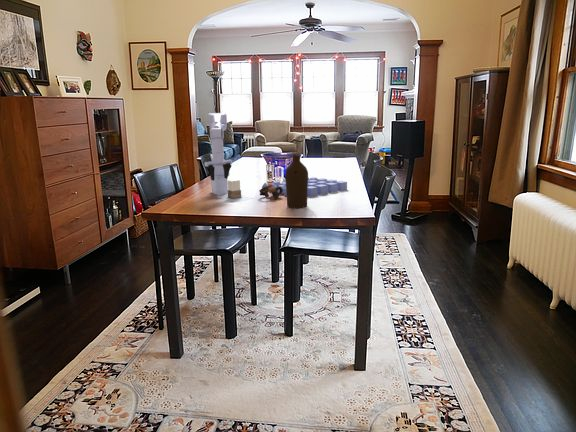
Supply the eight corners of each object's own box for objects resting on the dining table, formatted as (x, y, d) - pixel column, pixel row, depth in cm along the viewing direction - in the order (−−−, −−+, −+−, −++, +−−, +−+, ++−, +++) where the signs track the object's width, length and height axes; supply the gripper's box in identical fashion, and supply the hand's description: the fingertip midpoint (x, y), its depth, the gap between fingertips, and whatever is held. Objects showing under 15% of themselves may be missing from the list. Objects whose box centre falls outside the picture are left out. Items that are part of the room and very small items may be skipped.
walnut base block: (227, 197, 232) (227, 189, 231) (236, 196, 235) (236, 188, 234) (232, 198, 228) (232, 191, 227) (241, 197, 231) (240, 189, 230)
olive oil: (312, 207, 208) (311, 153, 202) (291, 209, 204) (290, 154, 198) (302, 202, 217) (301, 151, 211) (282, 205, 213) (281, 152, 207)
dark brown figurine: (266, 203, 221) (259, 188, 222) (262, 207, 230) (256, 193, 231) (287, 194, 225) (280, 179, 226) (283, 199, 234) (276, 185, 235)
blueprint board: (216, 197, 235) (216, 196, 235) (235, 194, 242) (235, 193, 242) (233, 202, 221) (233, 201, 221) (253, 199, 228) (253, 198, 228)
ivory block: (228, 189, 231) (227, 180, 229) (235, 188, 233) (235, 179, 232) (232, 191, 227) (232, 181, 226) (240, 189, 230) (239, 180, 228)
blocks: (299, 200, 226) (298, 190, 225) (259, 191, 252) (258, 182, 251) (347, 190, 247) (347, 181, 246) (305, 183, 273) (305, 175, 272)
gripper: (208, 154, 216) (210, 181, 219) (234, 151, 225) (235, 178, 228) (201, 153, 222) (203, 180, 225) (227, 150, 230) (228, 176, 233)
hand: (219, 179), depth 227 cm, fingers open, 7 cm apart
